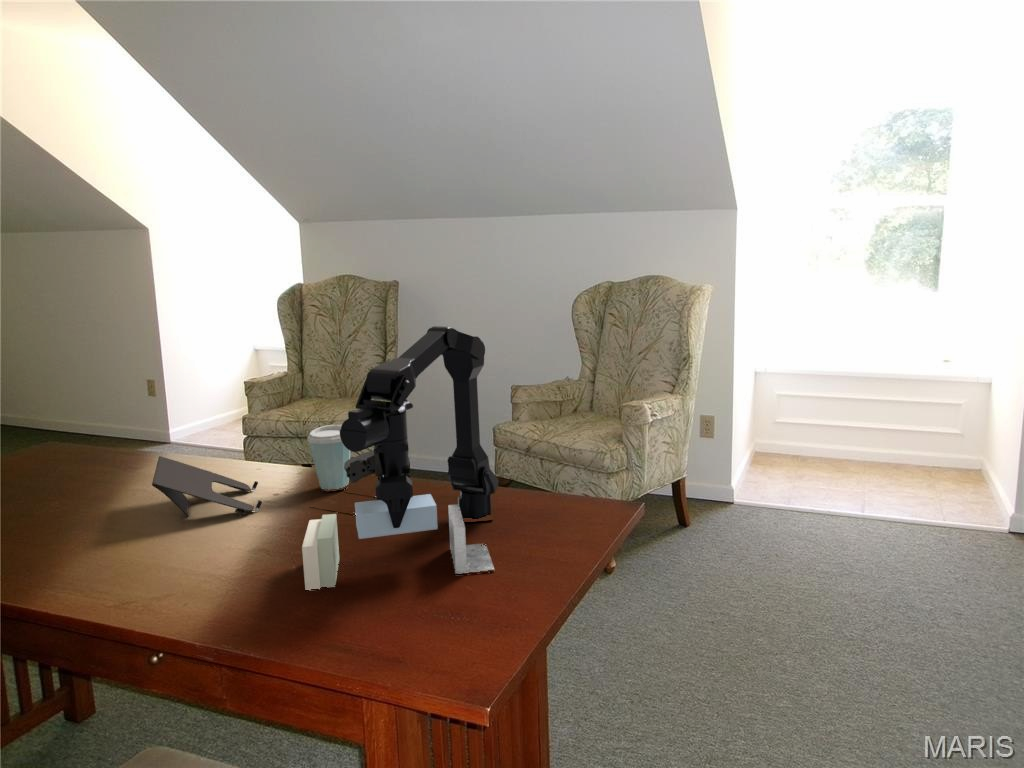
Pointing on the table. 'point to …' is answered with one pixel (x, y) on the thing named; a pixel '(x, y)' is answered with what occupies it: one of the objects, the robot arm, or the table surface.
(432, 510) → the light blue rectangular block
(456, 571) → the l-shaped bookend
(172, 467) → the portable electronic device stand
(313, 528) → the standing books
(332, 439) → the disposable coffee cup
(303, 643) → the table surface
